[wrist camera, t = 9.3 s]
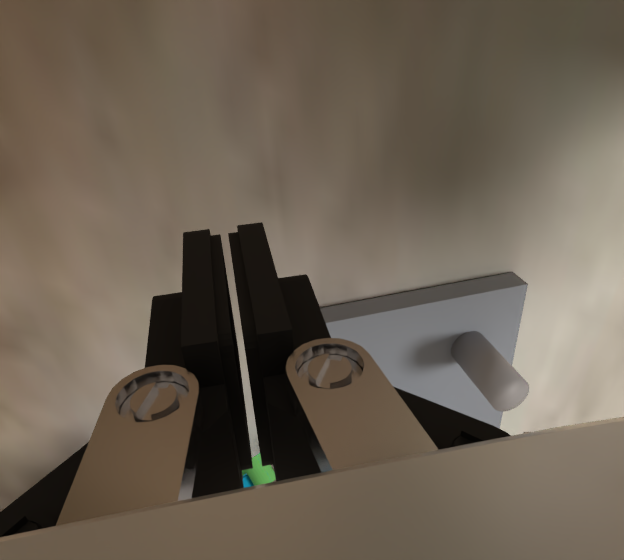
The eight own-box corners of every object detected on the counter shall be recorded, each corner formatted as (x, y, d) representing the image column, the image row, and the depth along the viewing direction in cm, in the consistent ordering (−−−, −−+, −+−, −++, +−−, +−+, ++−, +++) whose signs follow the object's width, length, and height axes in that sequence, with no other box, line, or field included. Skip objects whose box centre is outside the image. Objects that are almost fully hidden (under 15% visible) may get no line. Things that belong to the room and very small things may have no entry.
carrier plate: (513, 272, 26) (587, 332, 22) (468, 526, 36) (512, 602, 32) (302, 311, 24) (338, 387, 19) (318, 570, 34) (343, 658, 30)
